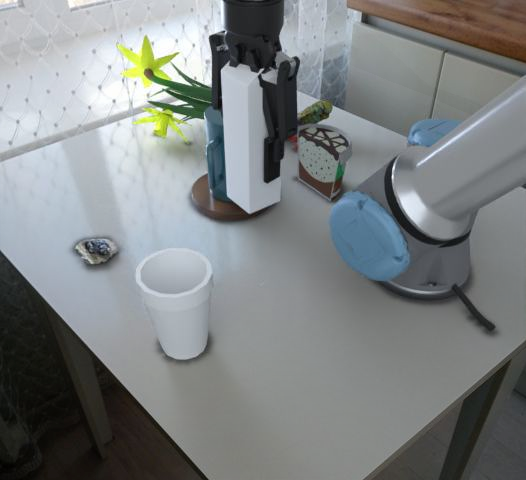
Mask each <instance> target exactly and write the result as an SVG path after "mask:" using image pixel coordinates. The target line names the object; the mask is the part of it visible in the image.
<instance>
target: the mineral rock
mask: <svg viewBox="0 0 526 480" xmlns="http://www.w3.org/2000/svg"><path fill="white" fill-rule="evenodd" d="M75 250H76V251H77V253H79V254H80V255H81V259H83V260H84V261H85V262H84V263H86V264H87V265H91V266H92V265H100V264H101V263H105V262H107V261H109V258H112V257H113V254H118V253H119V252H120V250H119V249H118V246H117V245H116V243H114V241H112V240H110V239H108V238H99V237H98V238H96V239H94V238H93V239H83V240H82V241H80V242H78V243H77V244H76V245H75Z"/></svg>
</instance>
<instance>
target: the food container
mask: <svg viewBox="0 0 526 480" xmlns="http://www.w3.org/2000/svg"><path fill="white" fill-rule="evenodd" d="M297 136H298V140H297V144H298V150H297V180H298V181H300V182H302V183H303V184H305V185H306V186H307V187H309V188H311V189H312V190H314V191H315V192H316V193H318V194H319V195H320V196H322V197H323V198H325V199H326V200H327V201H329V202H332V201H334V200H336V199H337V198H338V197H339V195H340V192H341V189H342V184H343V180H344V175H345V170H346V166H347V162H348V161H350V159H352V156H353V145H352V143H353V142H352V140H351V137H350V136H349V134H348V133H347V132H346V131H344V130H343V129H340V128H339V127H336V126H333V125H329V124H323V123H317V124H307V125H302V126H299V127H298V133H297V135H295V137H297Z"/></svg>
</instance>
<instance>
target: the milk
mask: <svg viewBox="0 0 526 480" xmlns="http://www.w3.org/2000/svg"><path fill="white" fill-rule="evenodd" d="M229 62H230V61H229ZM229 62H228V63H227V64H226V65H225V66H224V67H223V68H222V69H221V83H222V104H223V124H224V144H225V164H226V184H227V196H228V197H229V198H230V199H231V200H232V201H234V202H235V203H236V204H237V205H239V206H240V207H241V208H242V209H244V210H245V211H246V212H247V213H249V214H251V213H253V212H256V211H258V210H260V209H262V208H265V207H267V206H269V205H271V206H272V205H274V204H276V203H279V202H281V191H282V165H283V159H282V160H281V163H280V177H278V178H276V179H275V180H273V181H271V182H270V183H268V184H267V183H265V182H264V139H265V138H267V137H269V135H268V131H267V126H266V122H265V118H264V113H263V109H262V88H261V87H260V86H259V79H258V77H257V76H258V75H259V74H260V73H261V72H262V71H263V70H264V69H260V71H259V73H255V72H251V70H250V67H249V66H247V65H243V64H239V65H238V66H237V67H236V68H235V67H231V66H229ZM269 68H270V67H269ZM270 69H272V70H271V71H269V72H267V73H265V74H262V73H261V75H262V79H263V80H265V81H268V82H271V83H274V84H277V74H276V72H275V69H273V68H270ZM277 129H278V128H277Z"/></svg>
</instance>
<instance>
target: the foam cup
mask: <svg viewBox="0 0 526 480" xmlns="http://www.w3.org/2000/svg"><path fill="white" fill-rule="evenodd" d="M134 272H135V283H136V288H137V293H138V296H139V297H140V299H141V300H142V302H143V304H144V307H145V310H146V312H147V315H148V317H149V319H150V323H151V324H152V327H153V329H154V332H155V334H156V338H157V339H158V342H159V344H160V346H161V348H162V350H163V352H164V353H165V354H166V355H167V356H168V357H170V358H172V359H174V360H185V361H187V360H190V359H194V358H196V357H198V356H199V355H201V354H202V353H203V352H204V351H205V349H206V348H207V347H206V346H207V345H208V340H209V339H208V338H209V327H210V314H211V305H212V303H211V302H212V293H213V292H212V291H213V289H214V277H213V276H214V274H213V269H212V264H211V261H210V260H209V259H208V258H207V257H206V256H205V255H204V254H203V253H202V252H199V251H196V250H193V249H191V248H188V247H168V248H164V249H161V250H157V251H154V252H152V253H150V254H149V255H148V256H146V257H144V258H143V259H142V260H141V261H140V263H139V264H138V266H137V267H136V269H135V271H134Z"/></svg>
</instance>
